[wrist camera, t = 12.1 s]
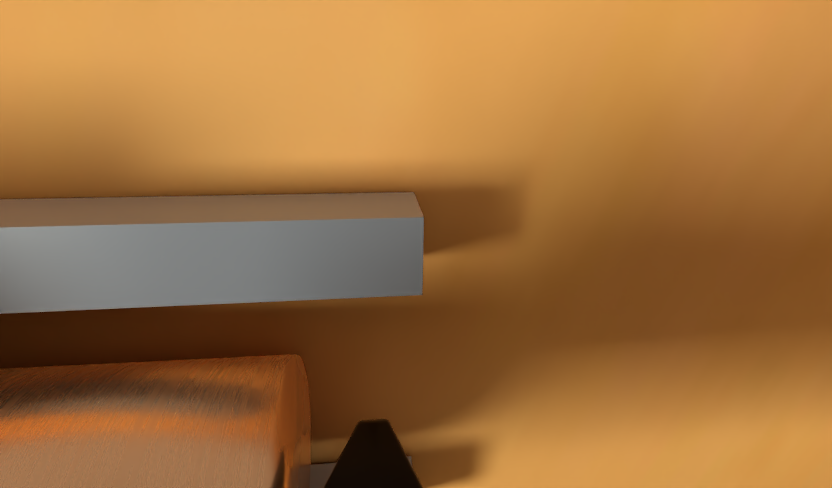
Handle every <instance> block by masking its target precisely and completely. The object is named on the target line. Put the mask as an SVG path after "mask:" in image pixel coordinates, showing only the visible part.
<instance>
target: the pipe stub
mask: <svg viewBox="0 0 832 488" xmlns="http://www.w3.org/2000/svg"><path fill="white" fill-rule="evenodd" d="M310 465H311V416H310V398H309V388H308V380H307V375H306V370H305V366H304V363H303V360H302V358H301V357H300V356H299V355H298V354H291V355H271V356H250V357H230V358H210V359H190V360H170V361H149V362H129V363H109V364H89V365H69V366H49V367H28V368H8V369H0V488H310Z"/></svg>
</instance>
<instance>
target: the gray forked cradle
mask: <svg viewBox="0 0 832 488" xmlns="http://www.w3.org/2000/svg"><path fill="white" fill-rule="evenodd" d="M423 239H424V216H423V214H422V211H421V209H420V206H419V203H418V201H417V198H416V196H415V193H414V192H384V193H326V194H269V195H211V196H154V197H97V198H39V199H0V314H4V313H26V312H49V311H71V310H94V309H117V308H139V307H162V306H184V305H207V304H230V303H252V302H275V301H297V300H320V299H342V298H365V297H388V296H410V295H422V287H423ZM407 457H408V459H409V461H410V463H411V465H412V459H411V456H407ZM335 465H336V463H326V464H314V465H310V488H324V486H325V484H326V482H327V480H328V478H329V476H330V474H331V473H332V471H333V469H334V467H335Z"/></svg>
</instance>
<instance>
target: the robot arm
mask: <svg viewBox="0 0 832 488" xmlns="http://www.w3.org/2000/svg"><path fill="white" fill-rule="evenodd" d="M324 488H423V487H422V485H421V483H420V481H419V479H418V477H417V475H416V473H415V471H414V469H413V467H412V465H411V463H410V461H409V459H408V457H407V456H406V454H405V452H404V450H403V448H402V446H401V444H400V442H399V440H398V438H397V436H396V434H395V432H394V430H393V428H392V426H391V424H390V422H389V421H388V420H387V419H376V420H361V421H359V422H358V424H357V425H356V427H355V429H354V431H353V433H352V435H351V436H350V438H349V440H348V442H347V444H346V446H345V448H344V450H343V452H342V454H341V455H340V457H339V459H338V461H337V463H336V465H335V467H334V469H333V471H332V473H331V474H330V476H329V478H328V480H327V482H326V484H325V486H324Z"/></svg>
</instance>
